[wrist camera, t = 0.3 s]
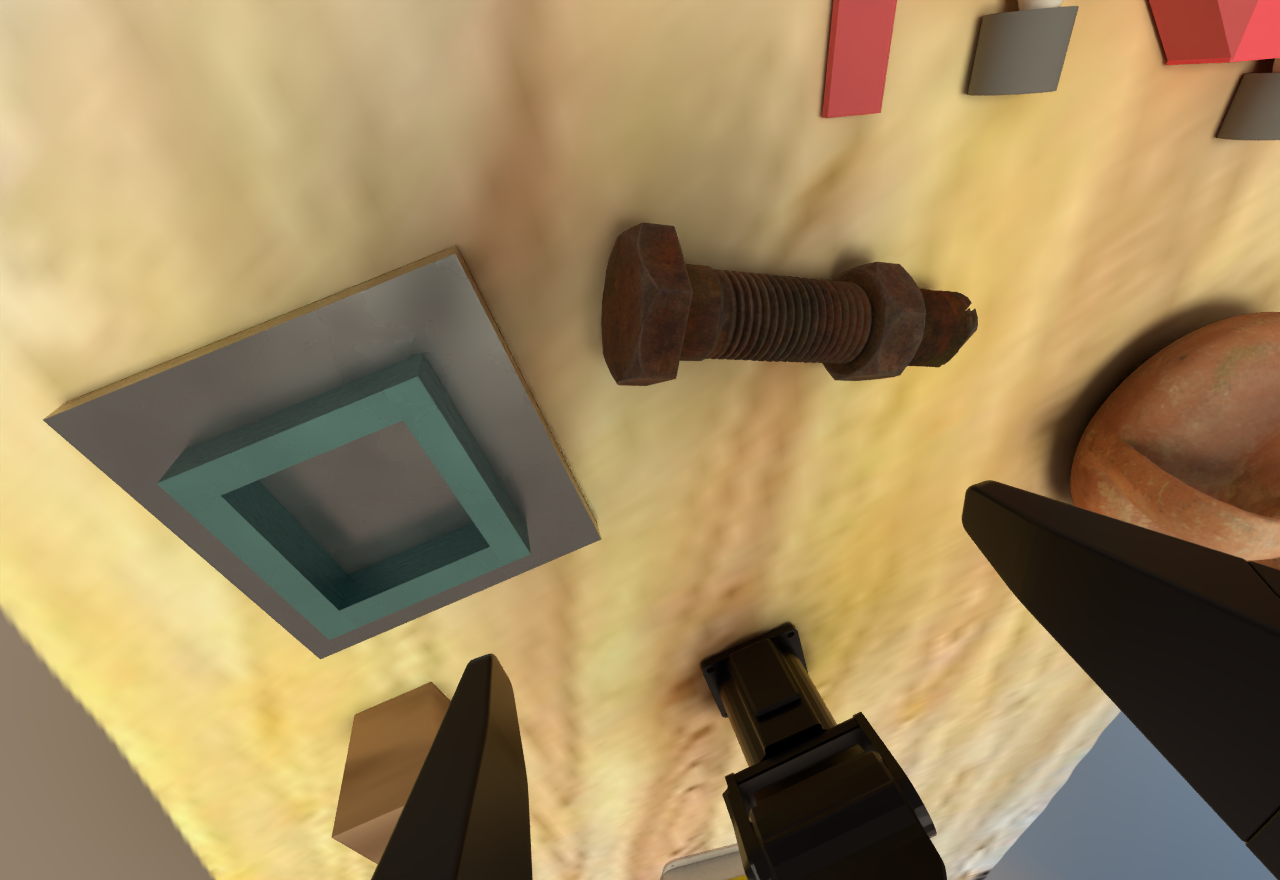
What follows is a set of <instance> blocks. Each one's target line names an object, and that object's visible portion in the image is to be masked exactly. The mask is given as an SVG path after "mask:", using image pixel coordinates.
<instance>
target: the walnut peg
mask: <svg viewBox="0 0 1280 880" xmlns="http://www.w3.org/2000/svg"><path fill="white" fill-rule="evenodd" d="M450 702H451V701H450V700H449V699H448V698H447V697H446V696H445V695H444V694H443V693H442V692H441V691H440V690H439V689H438V688H437V687H436V686H435V685H434V684H433V683H432V682H430V683H428V684H425V685H423V686H421V687H418V688H416V689H414V690H411V691H409V692H407V693H404V694H402V695H400V696H397V697H395V698H393V699H390V700H388V701H386V702H384V703H381V704H379V705H377V706H374V707H372V708H370V709H367V710H365V711H363V712H360V713H358V714H356V715H355V717H354V722H353V727H352V733H351V738H350V743H349V748H348V754H347V759H346V764H345V770H344V775H343V780H342V786H341V791H340V796H339V801H338V807H337V812H336V817H335V823H334V828H333V833H332V838H333V839H335V840H337V841H338V842H340V843H342V844H344V845H345V846H347V847H349V848H351V849H352V850H354V851H356V852H357V853H359V854H361V855H363V856H364V857H366V858H368V859H369V860H371V861H373V862H375V863H376V864H378V863H379V861H380V859H381V856H382V854H383V852H384V850H385V847H386V845H387V843H388V841H389V838H390V836H391V834H392V832H393V830H394V827H395V825H396V823H397V821H398V818H399V816H400V814H401V812H402V809H403V807H404V805H405V803H406V801H407V798H408V796H409V794H410V792H411V789H412V787H413V785H414V783H415V780H416V778H417V776H418V774H419V771H420V769H421V767H422V765H423V763H424V760H425V758H426V756H427V754H428V751H429V749H430V747H431V745H432V742H433V740H434V738H435V736H436V734H437V731H438V729H439V727H440V725H441V722H442V720H443V718H444V716H445V713H446V711H447V709H448V707H449V704H450Z"/></svg>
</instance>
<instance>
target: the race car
mask: <svg viewBox="0 0 1280 880" xmlns="http://www.w3.org/2000/svg"><path fill="white" fill-rule="evenodd" d="M1062 2H1063V0H1018V7H1019V11H1013V12H1005V13H997V14H991V15H985V16H983V19H982V24H981V29H980V34H979V39H978V44H977V49H976V54H975V59H974V64H973V69H972V74H971V80H970V85H969V90H968V95H1012V94H1030V93H1043V92H1051V91H1056V90H1057V86H1058V82H1059V79H1060V75H1061V71H1062V67H1063V64H1064V60H1065V56H1066V52H1067V48H1068V45H1069V41H1070V37H1071V33H1072V30H1073V26H1074V22H1075V18H1076V15H1077V11H1078V6H1069V7H1059V6H1060V5H1061V3H1062ZM1149 2H1150V5H1151V8H1152V12H1153V15H1154V18H1155V21H1156V25H1157V28H1158V31H1159V34H1160V38H1161V41H1162V44H1163V47H1164V50H1165V54H1166V57H1167V60H1168V61H1167V64H1166V65H1178V64H1201V63H1223V62H1238V61H1249V60H1261V59H1272V58H1275V61H1274V65H1273V70H1272V73H1245V74H1244V75H1243V78H1242V80H1241V82H1240V84H1239V87H1238V89H1237V91H1236V94H1235V96H1234V98H1233V100H1232V103H1231V105H1230V107H1229V110H1228V112H1227V114H1226V116H1225V119H1224V121H1223V123H1222V126H1221V128H1220V130H1219V132H1218V135H1217V137H1216V138H1221V139H1232V140H1280V0H1149ZM896 4H897V0H834V1H833V11H832V22H831V32H830V42H829V52H828V63H827V73H826V83H825V93H824V104H823V114H822V118H831V117H842V116H852V115H863V114H873V113H881V107H882V100H883V93H884V86H885V79H886V72H887V65H888V59H889V52H890V45H891V38H892V31H893V24H894V18H895V11H896Z"/></svg>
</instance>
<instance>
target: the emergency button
mask: <svg viewBox="0 0 1280 880" xmlns="http://www.w3.org/2000/svg"><path fill="white" fill-rule="evenodd" d="M661 880H748V879H747V877H746V874H745V872H744V868H743V864H742V860H741V856H740V852H739V847H738V843H737V844H733V845H729V846H725V847H721V848H717V849H713V850H709V851H705V852H701V853H697V854H693V855H689V856H685V857H681V858H677V859H674V860H671V861H670V862H668V863H667V864H666V865H665V866H664V869H663V872H662V876H661Z"/></svg>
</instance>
